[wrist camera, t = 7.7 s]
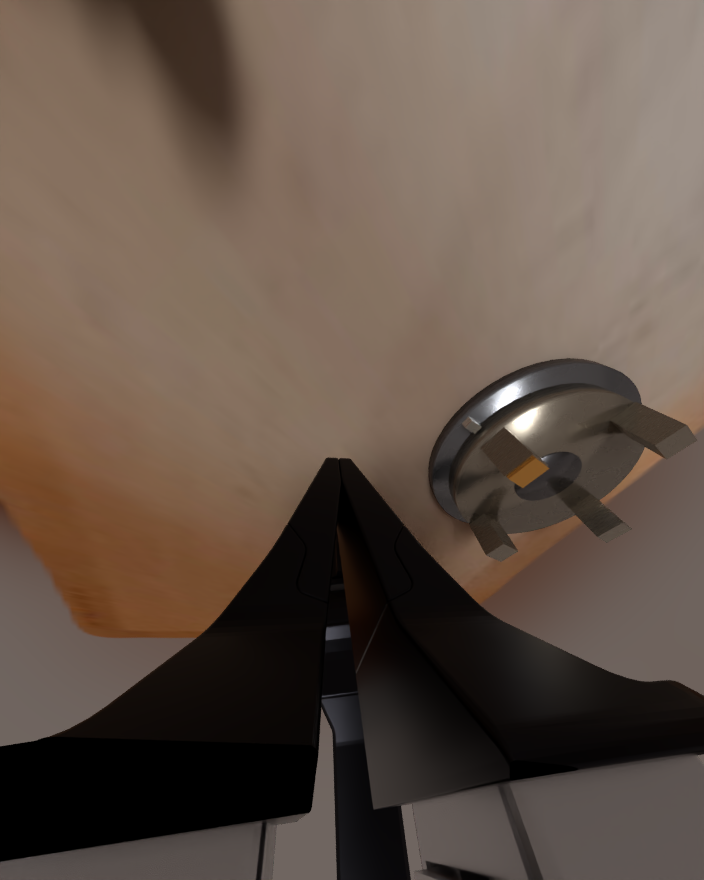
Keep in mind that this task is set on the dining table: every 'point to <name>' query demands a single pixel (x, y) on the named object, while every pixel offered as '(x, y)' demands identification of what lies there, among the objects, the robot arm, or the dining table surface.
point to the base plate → (504, 394)
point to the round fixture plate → (555, 462)
